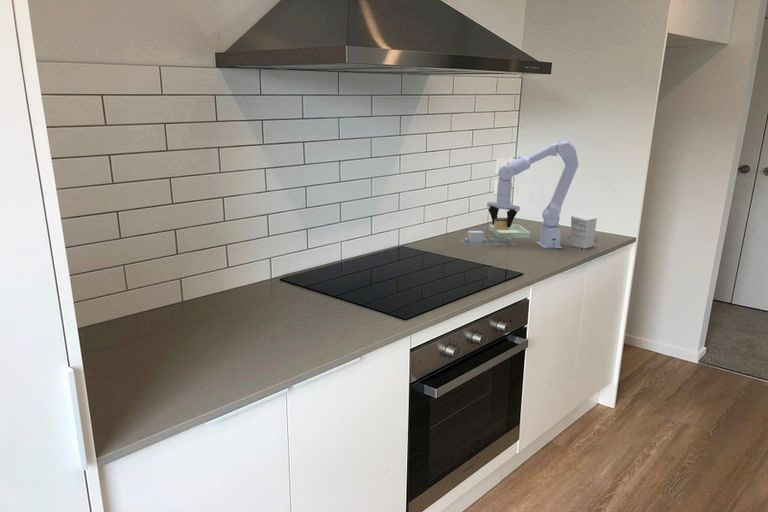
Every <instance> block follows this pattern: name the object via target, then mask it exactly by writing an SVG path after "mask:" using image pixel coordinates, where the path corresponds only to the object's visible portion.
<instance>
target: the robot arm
mask: <svg viewBox="0 0 768 512" xmlns="http://www.w3.org/2000/svg"><path fill="white" fill-rule="evenodd" d="M558 155H559V156H560V157H561V158H562V161H563V163H564V168H563V170H562V172H561V176H560V178H559V180H558V182H557V185H556V187H555V190H554V192H553V194H552V198H551V199H550V202H549V203H548V205H547V207H545V208H544V209H543V211H542V213H541V214H542V215H541V216H542V219H543V221H542V222H540V223H541V225H540V232H539V233H540V235H539V241H536V242H535V243H536V244H537V245H539V246H541V247H542V248H545V249H552V248H553V249H562V248H563V246H561V240H562V232H561V230H560V228H559V227H560V226H559V225H560V224H559V222H560V219H561V217H560V214H561V212H562V211H561V210H562V205H563V203H564V201H565V198H566V196H567V194H568V191H569V189H570V187H571V184H572V183H573V182H572V181H573V180H574V177H575V175H576V172H577V170H578V167H579V159H578V155H577V149H576V148H575V146H574V144H572V142H570V141H569V140H567V139H561V140H559V141H558V142H553V143H551V144H549V145H546V146H545V147H543V148H542V149H540V150H537V151H536V152H534V153H533V154H531V155H528V156H525V155H523V156H520V155H518V156H517V158H516V159H514V160H512V161H511V162H509V161H508V162H507V163H506V164H504V165H502V166H500V168H499V170H498V171H497V173H498V176H499V177H498V180H497V181H498V183H497V191H496V202H495V201H492V202H491V201H488V202H487V203H486V207H487V208H488V212H489V215H490V217H491V220H492V221H491V223H492V225H494V218H498V215H499V210H500V209H501V210H507V211H506V218H507V227H511V225H513V224H512V223H513V222H514V219H515V217H516V216H517V214H518V212H520V211H521V210H520V209H521V206H519V205H516V204H515V205H514V204H511V199H512V189H513V188H512V187H513V186H512V185H513V184H512V178H513V176H517V175H519V174H521V173H523V172H525V171H527V170H529V169H530V167H531V164H534V163H536V162H538V161H540V160H543V159H545V158H547V157H549V156H550V157H557V156H558Z"/></svg>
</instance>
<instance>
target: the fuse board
mask: <svg viewBox="0 0 768 512" xmlns="http://www.w3.org/2000/svg"><path fill="white" fill-rule="evenodd" d="M459 240H460V241H461V243H462V244H463V245H464V246H517V244H516V243H515V242H514V241H512V240H513V238H510V237H507V238H493V237H488V238H486V237H483V243H469V239H468V237H463V238H459Z"/></svg>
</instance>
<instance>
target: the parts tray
mask: <svg viewBox="0 0 768 512" xmlns="http://www.w3.org/2000/svg"><path fill="white" fill-rule="evenodd" d="M488 227H489V228H488V232H491V233H492V234H493V235H494V236H496V238H497V239H507V237H510V238H511V239H531V234H532V232H531V231H529V230H528V229H526V228H524V227H523V226H521V225H520V224H511V227H510V228H509V230H495V229H494V225H493V224H489V226H488Z"/></svg>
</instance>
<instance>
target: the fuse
mask: <svg viewBox="0 0 768 512" xmlns="http://www.w3.org/2000/svg"><path fill="white" fill-rule="evenodd" d="M484 232H485V231H483V230H468V231H467V238H468V239H469V243H483V238H484Z"/></svg>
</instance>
